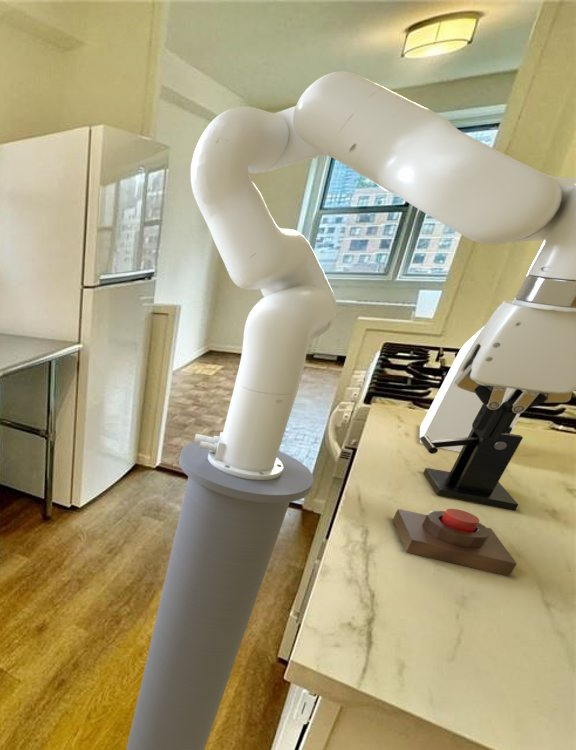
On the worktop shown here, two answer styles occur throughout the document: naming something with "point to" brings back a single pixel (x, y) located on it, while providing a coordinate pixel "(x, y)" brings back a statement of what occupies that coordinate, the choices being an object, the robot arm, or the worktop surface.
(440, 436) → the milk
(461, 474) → the bracket
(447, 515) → the button
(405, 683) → the worktop surface
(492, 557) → the button box
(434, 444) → the lever
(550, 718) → the worktop surface
